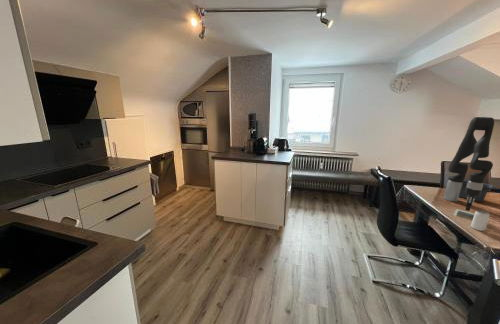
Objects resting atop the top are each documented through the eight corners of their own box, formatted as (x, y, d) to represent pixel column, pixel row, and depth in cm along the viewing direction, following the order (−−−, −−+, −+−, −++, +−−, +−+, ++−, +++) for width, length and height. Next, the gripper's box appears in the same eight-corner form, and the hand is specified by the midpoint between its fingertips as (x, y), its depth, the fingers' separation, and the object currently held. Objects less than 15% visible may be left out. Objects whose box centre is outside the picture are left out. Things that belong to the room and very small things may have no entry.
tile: (458, 210, 155) (456, 213, 151) (475, 215, 148) (474, 218, 144) (457, 212, 155) (456, 215, 151) (474, 217, 149) (474, 220, 144)
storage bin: (451, 196, 187) (455, 181, 184) (454, 191, 197) (458, 177, 193) (486, 204, 171) (491, 188, 168) (487, 199, 181) (492, 184, 177)
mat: (456, 209, 162) (456, 208, 161) (478, 215, 153) (478, 214, 152) (453, 216, 152) (453, 215, 151) (476, 222, 143) (477, 222, 143)
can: (471, 228, 135) (476, 212, 132) (469, 224, 140) (474, 208, 137) (485, 232, 131) (491, 215, 128) (483, 228, 136) (489, 211, 133)
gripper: (467, 184, 151) (461, 205, 156) (465, 188, 143) (458, 211, 148) (482, 187, 146) (475, 209, 150) (481, 191, 138) (474, 215, 142)
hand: (467, 210), depth 149 cm, fingers closed
